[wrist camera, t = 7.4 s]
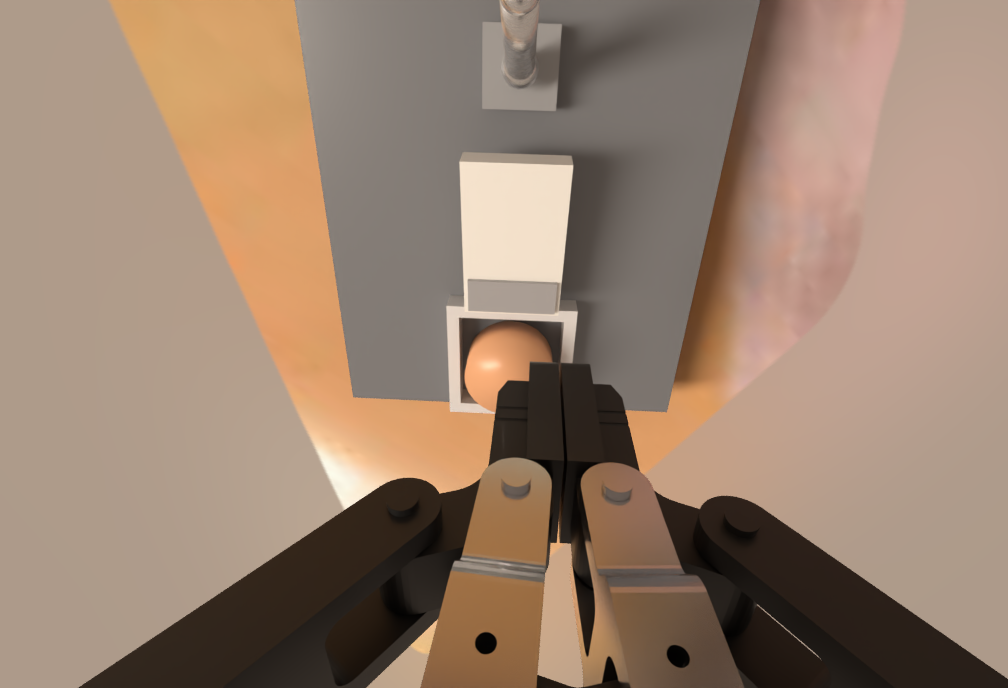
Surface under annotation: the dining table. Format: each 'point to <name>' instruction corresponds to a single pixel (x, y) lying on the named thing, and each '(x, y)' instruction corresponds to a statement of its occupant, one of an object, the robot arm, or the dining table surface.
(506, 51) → the toggle lever
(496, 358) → the push button
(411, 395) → the control panel
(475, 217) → the rocker switch
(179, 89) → the dining table surface
